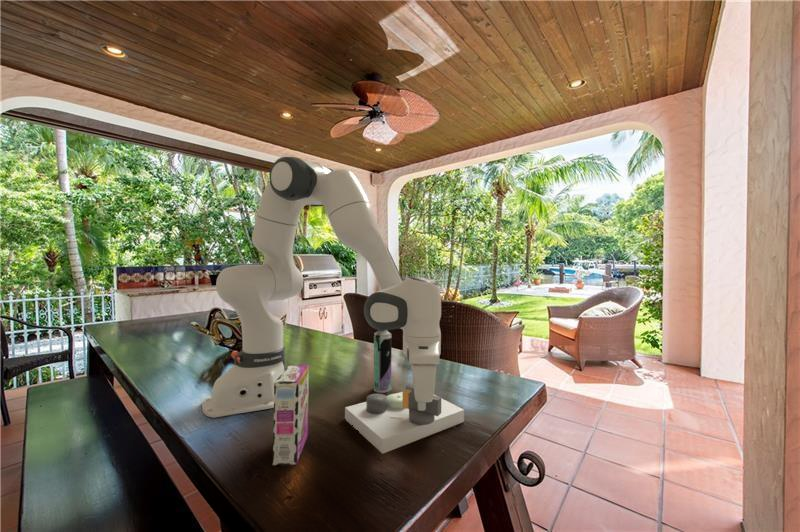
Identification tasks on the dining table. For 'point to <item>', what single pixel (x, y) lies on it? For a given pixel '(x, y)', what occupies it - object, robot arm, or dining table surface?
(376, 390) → the spray can
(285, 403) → the candy bar box
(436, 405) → the wing knob
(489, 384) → the dining table surface
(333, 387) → the dining table surface
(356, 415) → the base
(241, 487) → the dining table surface
